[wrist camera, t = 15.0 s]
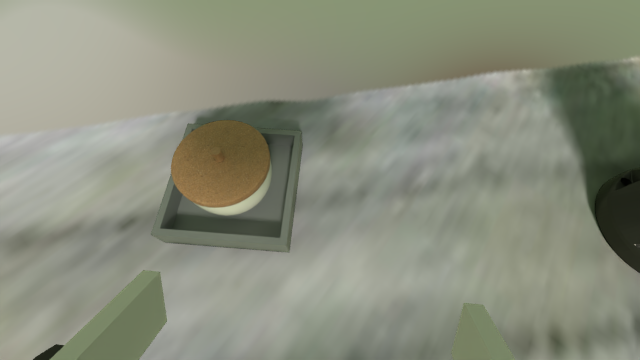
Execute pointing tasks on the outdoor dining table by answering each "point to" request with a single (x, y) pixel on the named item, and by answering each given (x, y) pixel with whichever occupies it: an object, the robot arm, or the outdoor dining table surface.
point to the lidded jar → (223, 167)
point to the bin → (246, 228)
